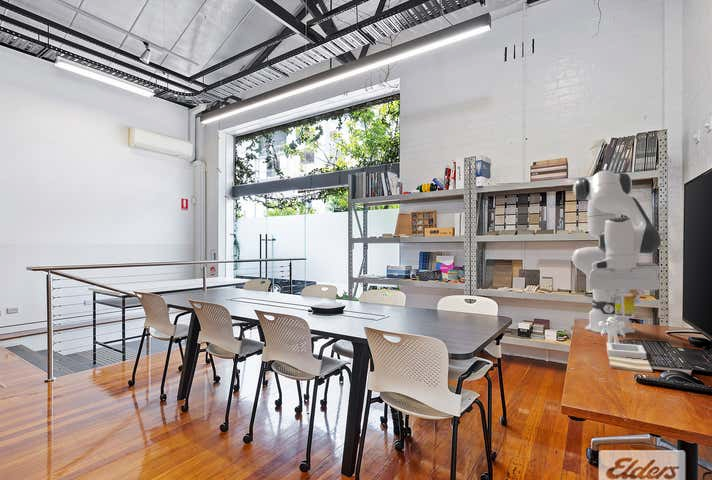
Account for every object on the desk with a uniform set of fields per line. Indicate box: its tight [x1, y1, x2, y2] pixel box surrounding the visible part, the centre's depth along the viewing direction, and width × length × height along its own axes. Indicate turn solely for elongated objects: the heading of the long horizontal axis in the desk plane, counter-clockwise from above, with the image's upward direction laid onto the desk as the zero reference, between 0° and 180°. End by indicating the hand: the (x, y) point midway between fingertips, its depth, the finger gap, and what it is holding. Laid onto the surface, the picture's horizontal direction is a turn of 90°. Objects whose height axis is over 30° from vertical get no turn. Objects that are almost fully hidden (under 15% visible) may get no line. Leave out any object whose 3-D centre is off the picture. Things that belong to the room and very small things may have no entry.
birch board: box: [608, 357, 653, 373], centre depth 125 cm, size 11×11×1 cm
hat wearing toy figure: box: [599, 316, 626, 344], centre depth 149 cm, size 9×4×12 cm, turn 66°
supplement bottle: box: [614, 288, 636, 319], centre depth 130 cm, size 6×6×10 cm
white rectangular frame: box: [606, 342, 648, 360], centre depth 136 cm, size 11×11×2 cm
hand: (624, 302), depth 130 cm, fingers closed on supplement bottle, 6 cm apart
